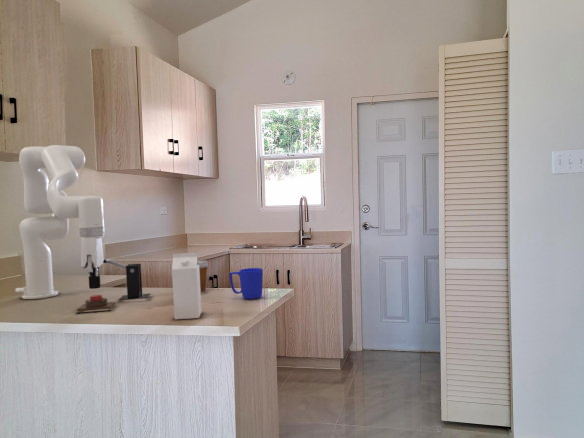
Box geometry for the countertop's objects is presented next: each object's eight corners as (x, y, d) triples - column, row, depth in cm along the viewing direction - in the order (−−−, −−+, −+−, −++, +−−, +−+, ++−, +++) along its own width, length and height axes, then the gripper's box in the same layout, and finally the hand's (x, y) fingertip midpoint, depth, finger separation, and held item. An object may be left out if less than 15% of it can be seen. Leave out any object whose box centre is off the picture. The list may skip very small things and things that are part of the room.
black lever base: (118, 302, 166) (116, 267, 165) (123, 298, 174) (121, 264, 173) (147, 300, 167) (145, 265, 167) (151, 296, 175) (149, 262, 175)
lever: (102, 264, 166) (104, 257, 166) (105, 262, 171) (107, 256, 171) (135, 275, 168) (137, 268, 168) (137, 273, 173) (139, 266, 173)
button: (89, 302, 153) (88, 297, 153) (92, 300, 157) (91, 295, 157) (100, 301, 154) (100, 296, 154) (103, 299, 157) (102, 294, 157)
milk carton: (178, 314, 144) (175, 252, 143) (201, 312, 144) (198, 251, 144) (174, 320, 137) (171, 255, 136) (199, 318, 137) (195, 254, 136)
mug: (234, 295, 169) (233, 268, 169) (266, 295, 167) (265, 267, 167) (226, 300, 161) (225, 271, 161) (260, 300, 159) (259, 271, 158)
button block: (77, 314, 150) (76, 303, 150) (84, 308, 158) (83, 298, 158) (109, 311, 152) (109, 301, 152) (115, 306, 160) (114, 296, 160)
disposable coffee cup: (211, 293, 175) (209, 262, 175) (185, 296, 172) (183, 264, 172) (207, 289, 184) (206, 259, 184) (183, 292, 181) (181, 261, 181)
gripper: (86, 232, 161) (89, 284, 162) (73, 235, 146) (76, 293, 147) (109, 231, 162) (111, 283, 163) (98, 234, 148) (101, 291, 148)
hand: (94, 288), depth 155 cm, fingers closed
